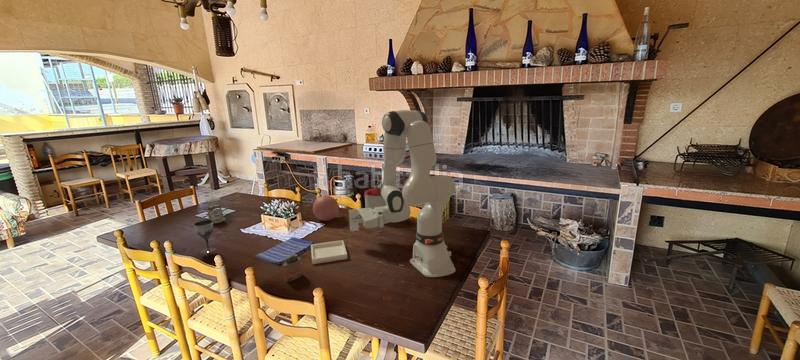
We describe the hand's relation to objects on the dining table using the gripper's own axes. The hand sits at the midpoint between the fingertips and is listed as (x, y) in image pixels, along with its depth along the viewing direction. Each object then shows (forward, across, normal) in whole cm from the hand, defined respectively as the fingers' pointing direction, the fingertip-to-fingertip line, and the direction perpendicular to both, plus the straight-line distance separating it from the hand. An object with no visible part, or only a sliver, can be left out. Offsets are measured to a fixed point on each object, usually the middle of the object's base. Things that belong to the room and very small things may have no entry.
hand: (351, 219), depth 166 cm
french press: (+76, -65, +13) cm, 100 cm away
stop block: (-1, 0, +6) cm, 6 cm away
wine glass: (+71, -20, +14) cm, 75 cm away
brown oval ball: (+9, -44, +14) cm, 47 cm away
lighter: (+29, +21, +15) cm, 39 cm away
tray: (+13, +4, +14) cm, 20 cm away
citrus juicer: (-21, -34, +14) cm, 43 cm away
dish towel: (+33, -6, +15) cm, 36 cm away
